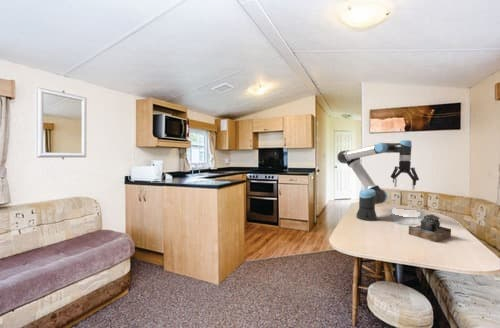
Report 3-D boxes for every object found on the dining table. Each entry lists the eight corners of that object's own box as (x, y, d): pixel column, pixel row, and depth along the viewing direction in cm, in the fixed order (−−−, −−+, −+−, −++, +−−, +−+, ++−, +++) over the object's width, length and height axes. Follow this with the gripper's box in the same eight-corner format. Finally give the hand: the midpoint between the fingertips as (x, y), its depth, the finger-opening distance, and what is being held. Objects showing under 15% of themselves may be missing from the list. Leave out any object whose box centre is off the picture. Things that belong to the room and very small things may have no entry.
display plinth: (408, 234, 165) (408, 225, 165) (423, 230, 174) (424, 222, 173) (435, 242, 151) (435, 233, 151) (450, 237, 159) (451, 229, 159)
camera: (438, 234, 154) (439, 218, 153) (419, 230, 160) (420, 215, 160) (439, 228, 164) (440, 214, 164) (421, 225, 171) (422, 211, 170)
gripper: (386, 160, 198) (385, 186, 199) (419, 161, 176) (418, 191, 177) (392, 159, 201) (391, 185, 203) (425, 161, 179) (423, 190, 181)
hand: (403, 188), depth 190 cm, fingers open, 13 cm apart
